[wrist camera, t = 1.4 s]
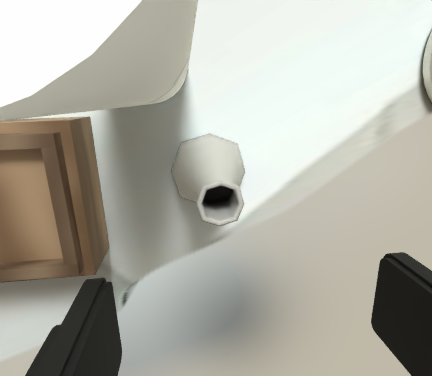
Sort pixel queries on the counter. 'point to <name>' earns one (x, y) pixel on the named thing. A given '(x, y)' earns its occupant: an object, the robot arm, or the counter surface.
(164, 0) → the cylindrical container
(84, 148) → the tray
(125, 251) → the counter surface
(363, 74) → the counter surface
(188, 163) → the flask
